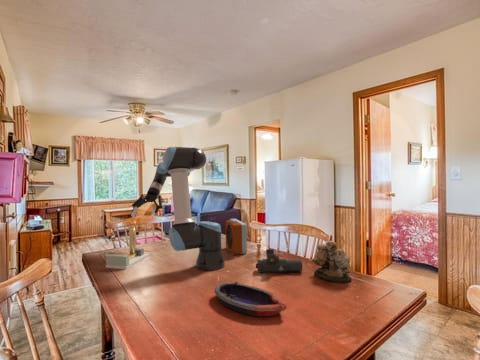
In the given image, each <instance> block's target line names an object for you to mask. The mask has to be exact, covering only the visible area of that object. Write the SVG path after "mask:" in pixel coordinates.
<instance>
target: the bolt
mask: <svg viewBox="0 0 480 360" xmlns="http://www.w3.org/2000/svg"><path fill="white" fill-rule="evenodd" d="M128 235H129V237H128V239H129V243H128V245H129V247H128V248H129V250H128V251H129V253H128V254H127V255H129V260H130V259H132V258H134V257H136V256H138V255H139V251H135V248H136V224H131V225H129V226H128Z"/></svg>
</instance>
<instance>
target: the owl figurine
mask: <svg viewBox="0 0 480 360" xmlns="http://www.w3.org/2000/svg"><path fill="white" fill-rule="evenodd" d="M311 261H312V262H314V264H315V265H316V266H321V267H318V268H317V269H316V270H314V273H313V274H314V276H315V278H318V279H319V280H323V281H325V282H330V283H333V284H334V283H336V284H348V283H351V282H352V277H351V276H350V275H349V274H350V273H351V269H349V268H348V267H349V266H350V263H351V262H350V257H349V256H348V255H347V253H346V252H345V250H344V249H342V248H340V247H339V246H338V244H337V242H335V241H334V240H329V241H327V243H326V244H325V243H320V244H318V245H317V251H316V254H315V258H312V260H311Z"/></svg>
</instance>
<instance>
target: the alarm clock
mask: <svg viewBox="0 0 480 360" xmlns="http://www.w3.org/2000/svg"><path fill="white" fill-rule="evenodd" d="M247 233H248V231H247V224H246V223H244V222H243V221H241V220H239V219H237V218H230V219H227V220H225V248H226V249H227V250H228V251H229V253H231V255H232V256H236V255H245V254H247V252H248V247H247V246H248V243H247V242H248V241H247V238H248V236H247V235H248V234H247Z"/></svg>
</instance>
